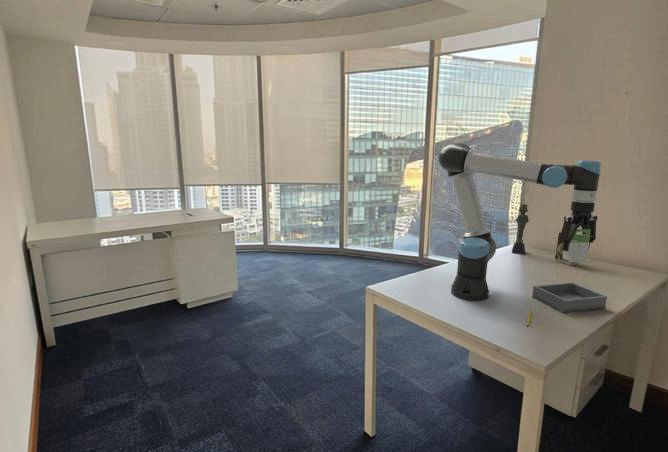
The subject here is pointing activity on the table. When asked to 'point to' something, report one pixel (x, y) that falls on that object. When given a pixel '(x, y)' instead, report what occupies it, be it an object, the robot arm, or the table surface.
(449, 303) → the table surface
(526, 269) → the table surface
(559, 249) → the coffee box
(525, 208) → the statue
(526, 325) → the pencil
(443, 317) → the table surface
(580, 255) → the ink box
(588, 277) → the table surface
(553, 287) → the box
